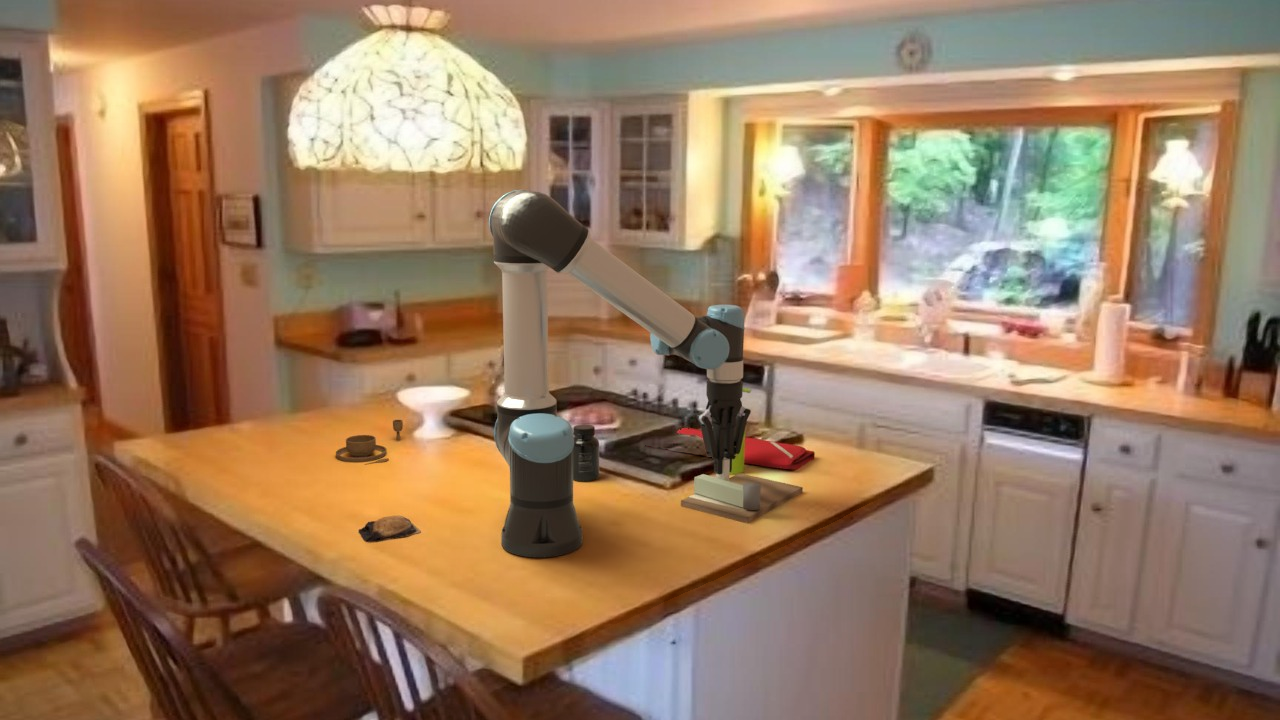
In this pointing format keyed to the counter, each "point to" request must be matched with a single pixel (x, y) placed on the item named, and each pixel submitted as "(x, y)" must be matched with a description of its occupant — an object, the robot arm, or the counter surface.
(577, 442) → the supplement bottle
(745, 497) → the sharpening stone
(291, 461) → the counter surface
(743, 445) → the soap dispenser
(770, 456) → the dish drying mat
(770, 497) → the walnut board
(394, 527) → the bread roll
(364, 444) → the place setting
